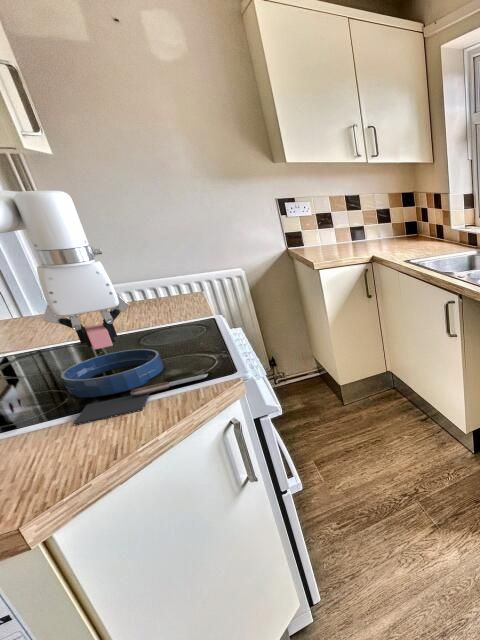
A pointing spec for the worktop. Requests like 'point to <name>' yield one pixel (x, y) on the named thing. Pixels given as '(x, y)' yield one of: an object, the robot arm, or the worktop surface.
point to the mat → (111, 408)
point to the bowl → (116, 383)
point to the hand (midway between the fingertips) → (100, 342)
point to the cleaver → (163, 385)
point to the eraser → (98, 336)
